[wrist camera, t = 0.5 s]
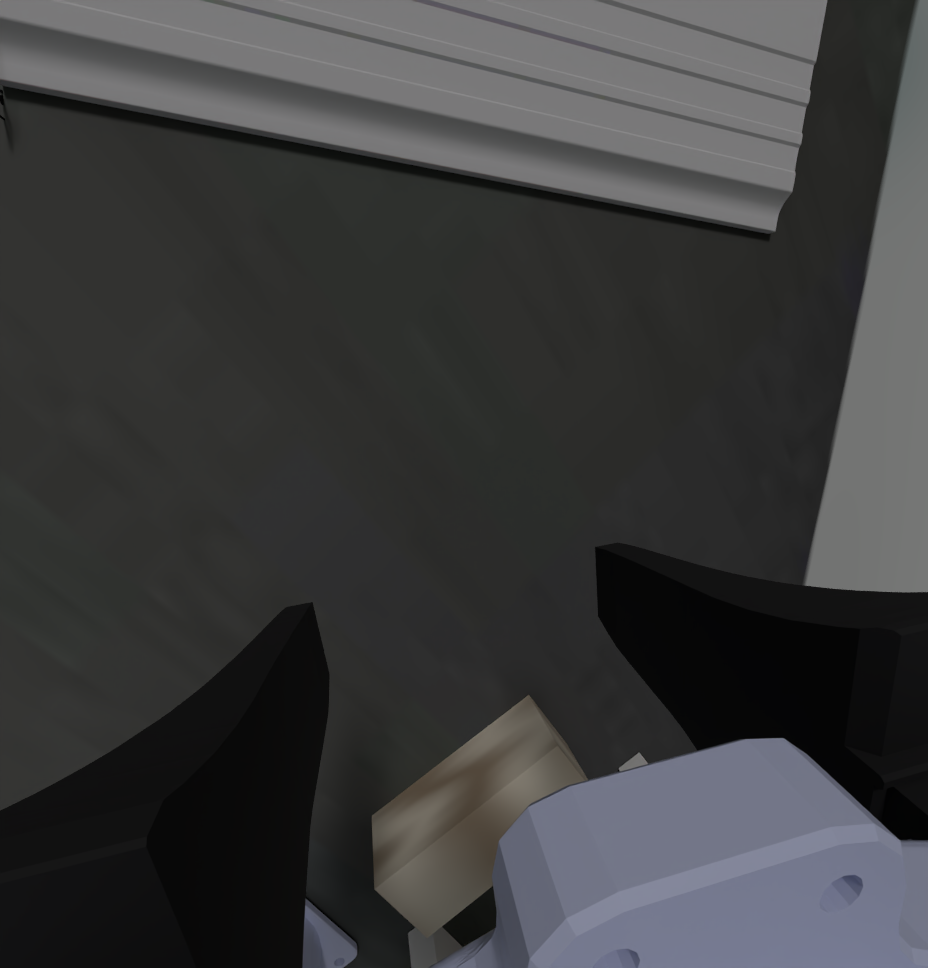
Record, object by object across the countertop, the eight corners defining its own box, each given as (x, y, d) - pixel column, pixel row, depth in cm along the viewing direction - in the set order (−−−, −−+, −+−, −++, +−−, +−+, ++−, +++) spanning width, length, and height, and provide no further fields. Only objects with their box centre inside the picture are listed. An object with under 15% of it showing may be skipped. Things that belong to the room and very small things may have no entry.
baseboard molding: (753, 268, 24) (801, -10, 22) (805, 252, 21) (866, -68, 19) (13, 140, 17) (-15, -286, 15) (-54, 91, 14) (-99, -441, 12)
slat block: (416, 857, 26) (427, 938, 22) (371, 812, 25) (374, 889, 21) (564, 740, 27) (600, 799, 23) (527, 692, 26) (557, 745, 22)
